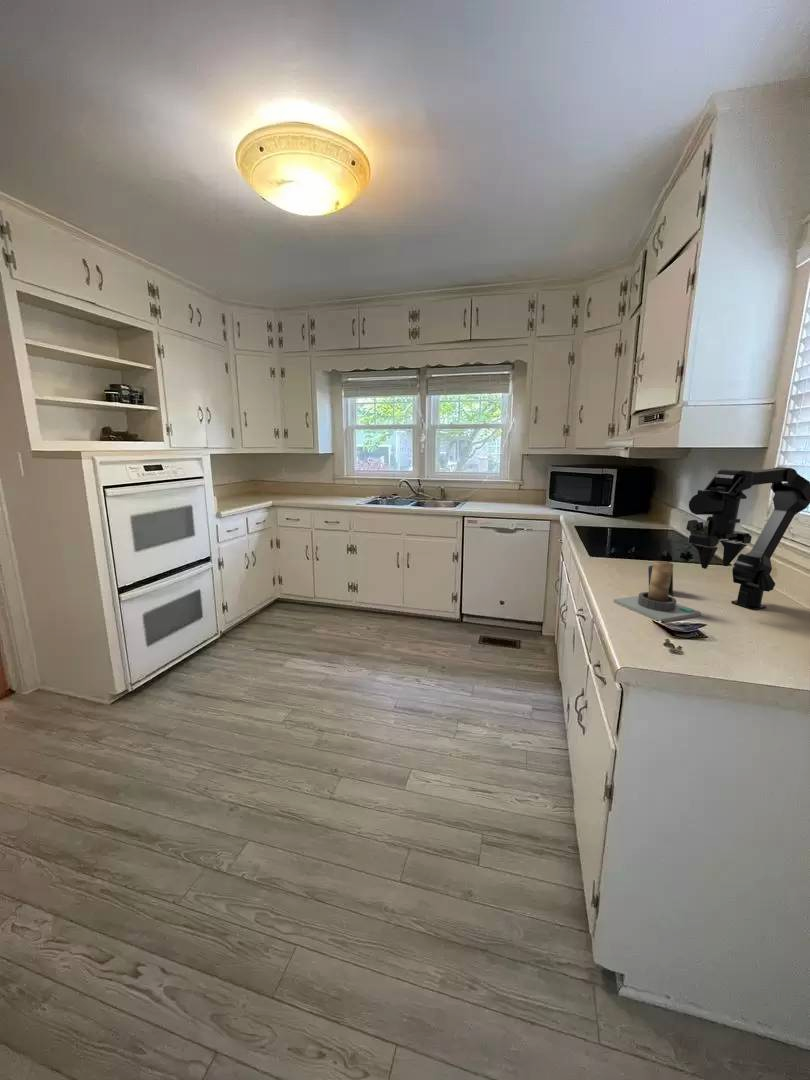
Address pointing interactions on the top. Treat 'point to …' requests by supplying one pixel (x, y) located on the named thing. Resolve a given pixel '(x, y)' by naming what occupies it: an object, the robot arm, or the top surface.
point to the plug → (660, 581)
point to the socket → (657, 608)
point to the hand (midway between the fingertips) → (714, 567)
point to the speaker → (670, 581)
